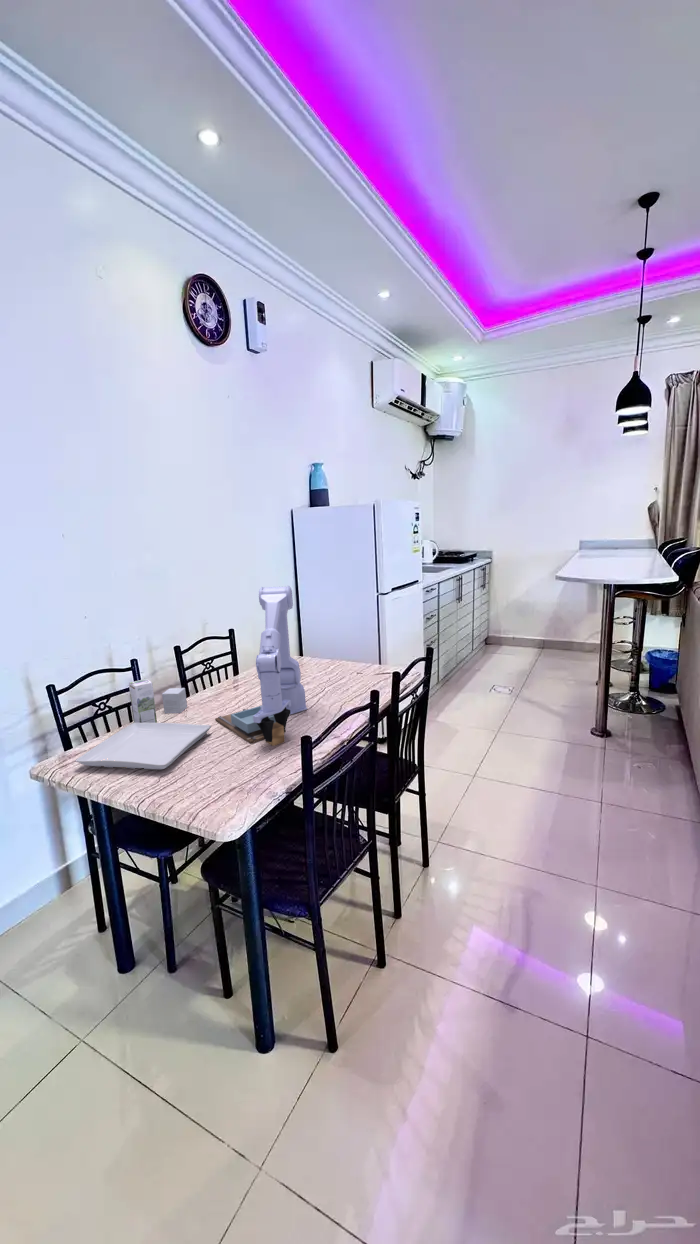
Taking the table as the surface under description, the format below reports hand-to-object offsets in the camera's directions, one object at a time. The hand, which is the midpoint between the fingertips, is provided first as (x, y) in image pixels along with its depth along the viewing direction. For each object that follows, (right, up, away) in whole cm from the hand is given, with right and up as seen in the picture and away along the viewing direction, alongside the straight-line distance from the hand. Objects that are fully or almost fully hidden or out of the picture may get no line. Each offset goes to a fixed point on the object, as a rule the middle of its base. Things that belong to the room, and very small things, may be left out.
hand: (275, 737), depth 149 cm
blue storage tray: (-7, +1, +9) cm, 11 cm away
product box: (-40, +2, +31) cm, 51 cm away
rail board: (-10, +1, +13) cm, 17 cm away
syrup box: (-46, 0, +20) cm, 50 cm away
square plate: (-36, -4, -1) cm, 37 cm away
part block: (0, -1, 0) cm, 1 cm away
